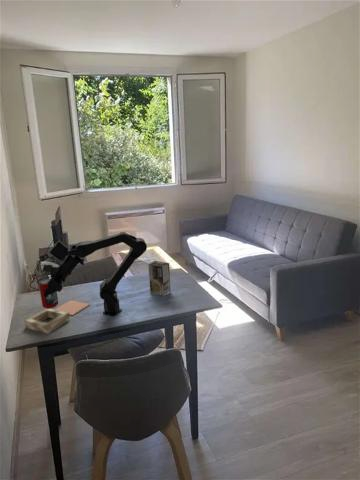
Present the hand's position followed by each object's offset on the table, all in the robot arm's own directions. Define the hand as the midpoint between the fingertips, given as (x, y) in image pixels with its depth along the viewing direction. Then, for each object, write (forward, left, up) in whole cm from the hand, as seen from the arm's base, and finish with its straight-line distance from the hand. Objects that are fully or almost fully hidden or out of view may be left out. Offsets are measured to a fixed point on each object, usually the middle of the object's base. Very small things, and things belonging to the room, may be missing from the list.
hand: (45, 292), depth 158 cm
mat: (-1, -13, -13) cm, 19 cm away
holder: (-2, +3, -13) cm, 14 cm away
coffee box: (-32, -45, -14) cm, 57 cm away
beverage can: (-1, -1, -7) cm, 7 cm away
